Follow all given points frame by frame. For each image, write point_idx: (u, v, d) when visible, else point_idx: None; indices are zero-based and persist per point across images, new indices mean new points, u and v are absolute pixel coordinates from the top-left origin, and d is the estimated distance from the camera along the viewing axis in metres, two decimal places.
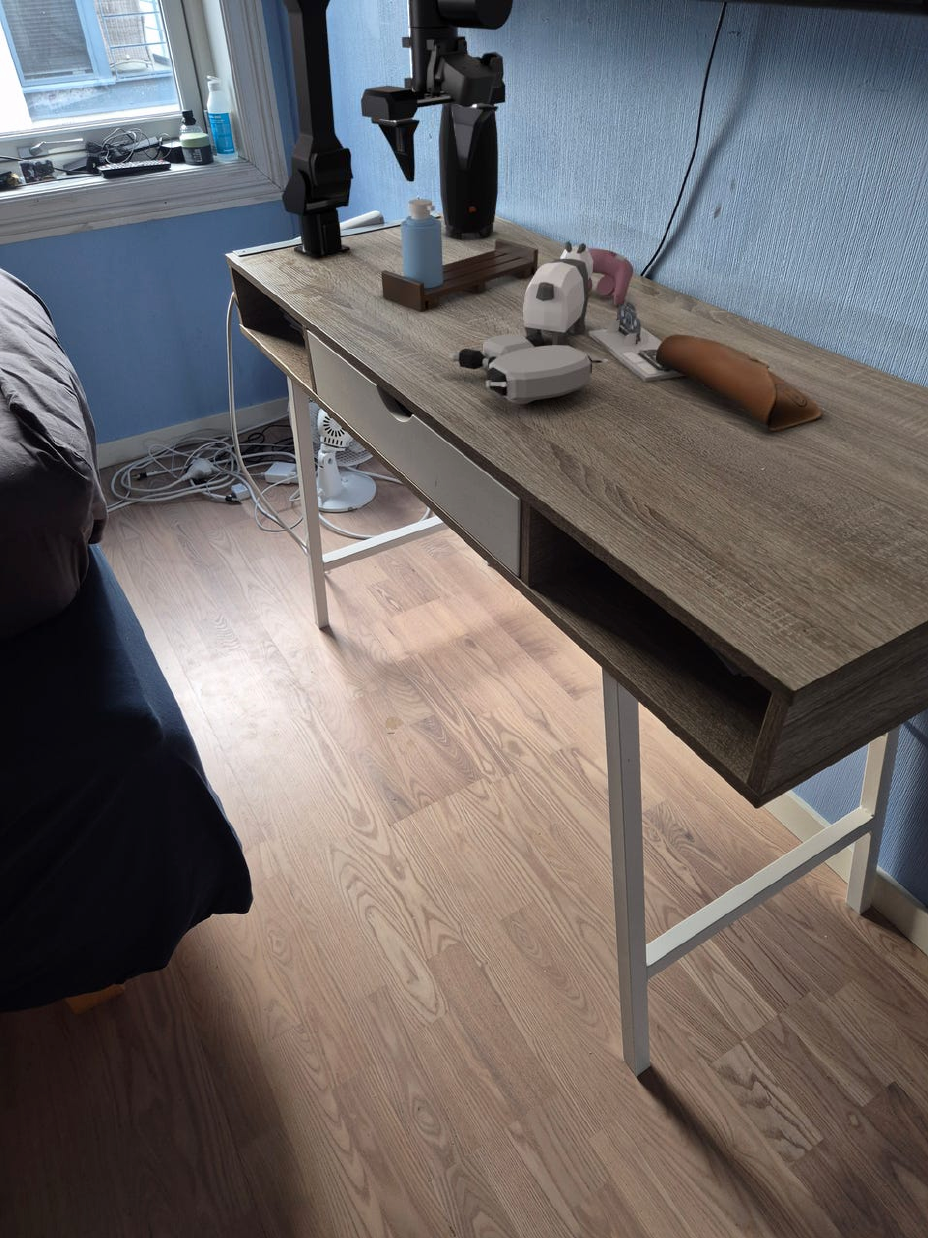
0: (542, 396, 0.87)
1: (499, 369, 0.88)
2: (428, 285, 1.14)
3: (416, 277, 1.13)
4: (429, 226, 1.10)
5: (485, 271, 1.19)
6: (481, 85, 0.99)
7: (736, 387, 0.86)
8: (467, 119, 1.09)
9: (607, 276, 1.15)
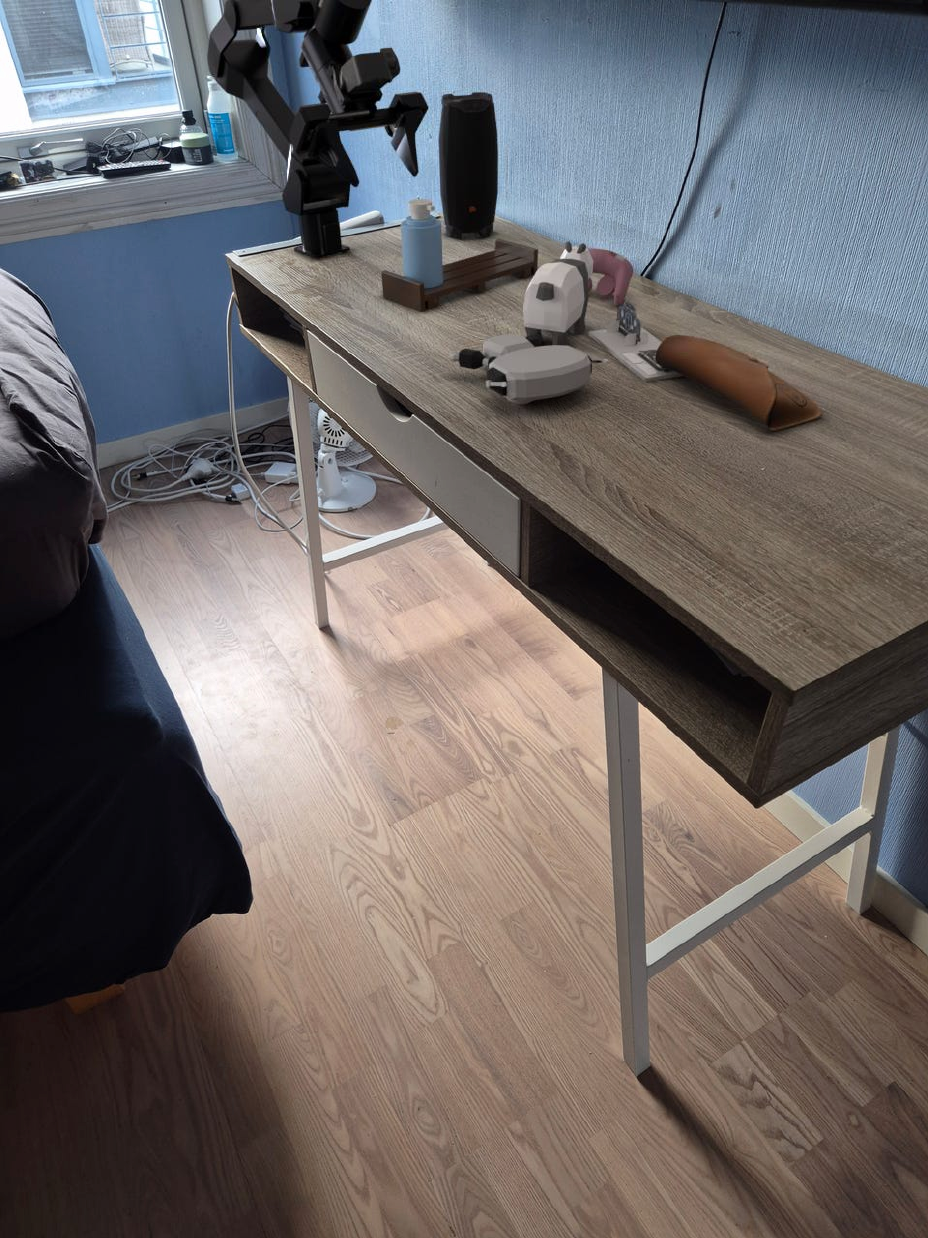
0: (542, 396, 0.87)
1: (499, 369, 0.88)
2: (428, 285, 1.14)
3: (416, 277, 1.13)
4: (429, 226, 1.10)
5: (485, 271, 1.19)
6: (372, 60, 1.07)
7: (735, 387, 0.86)
8: (401, 135, 1.16)
9: (607, 276, 1.15)
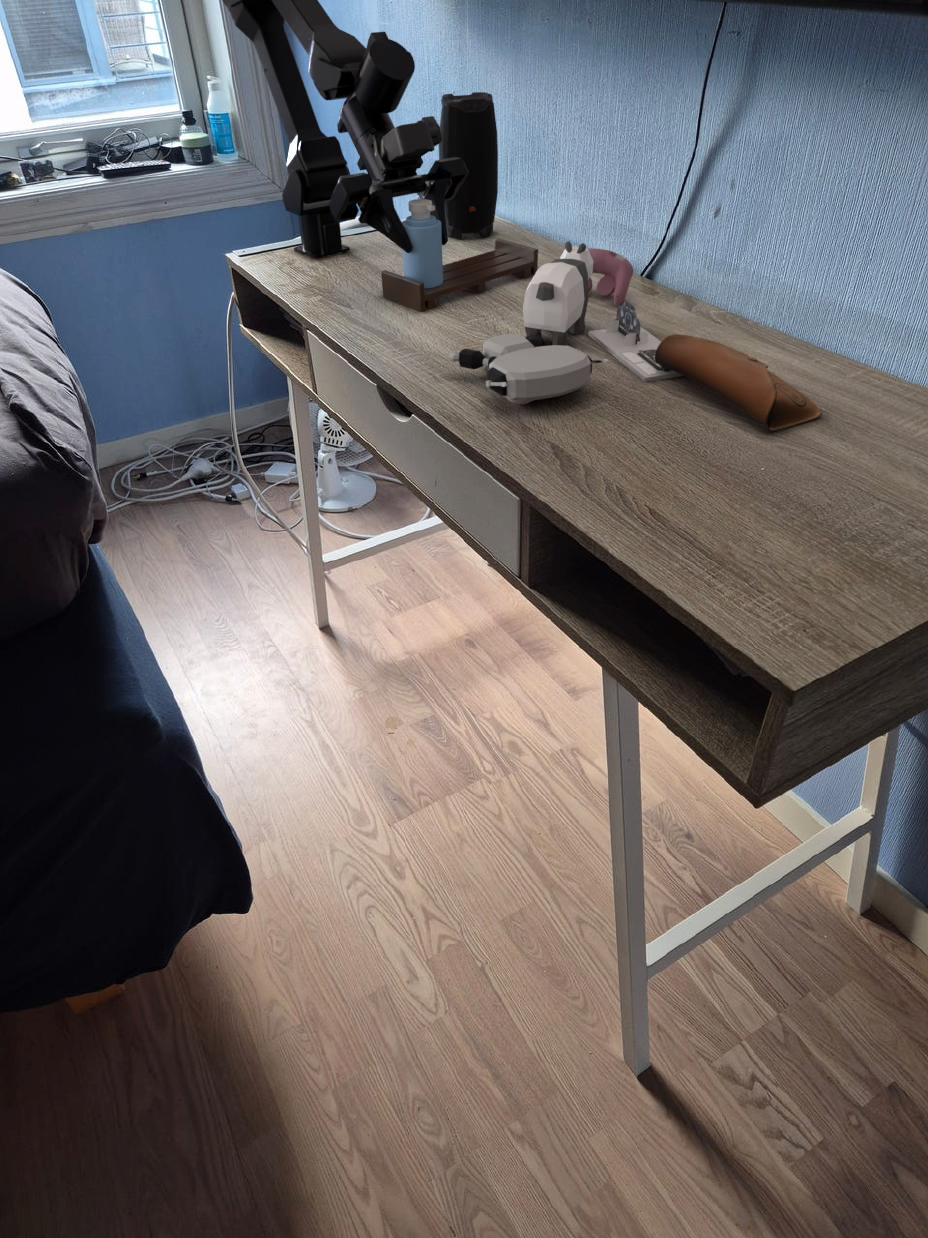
0: (542, 396, 0.87)
1: (499, 369, 0.88)
2: (428, 285, 1.14)
3: (416, 277, 1.13)
4: (429, 226, 1.10)
5: (485, 271, 1.19)
6: (415, 130, 1.05)
7: (735, 387, 0.86)
8: None
9: (607, 276, 1.15)
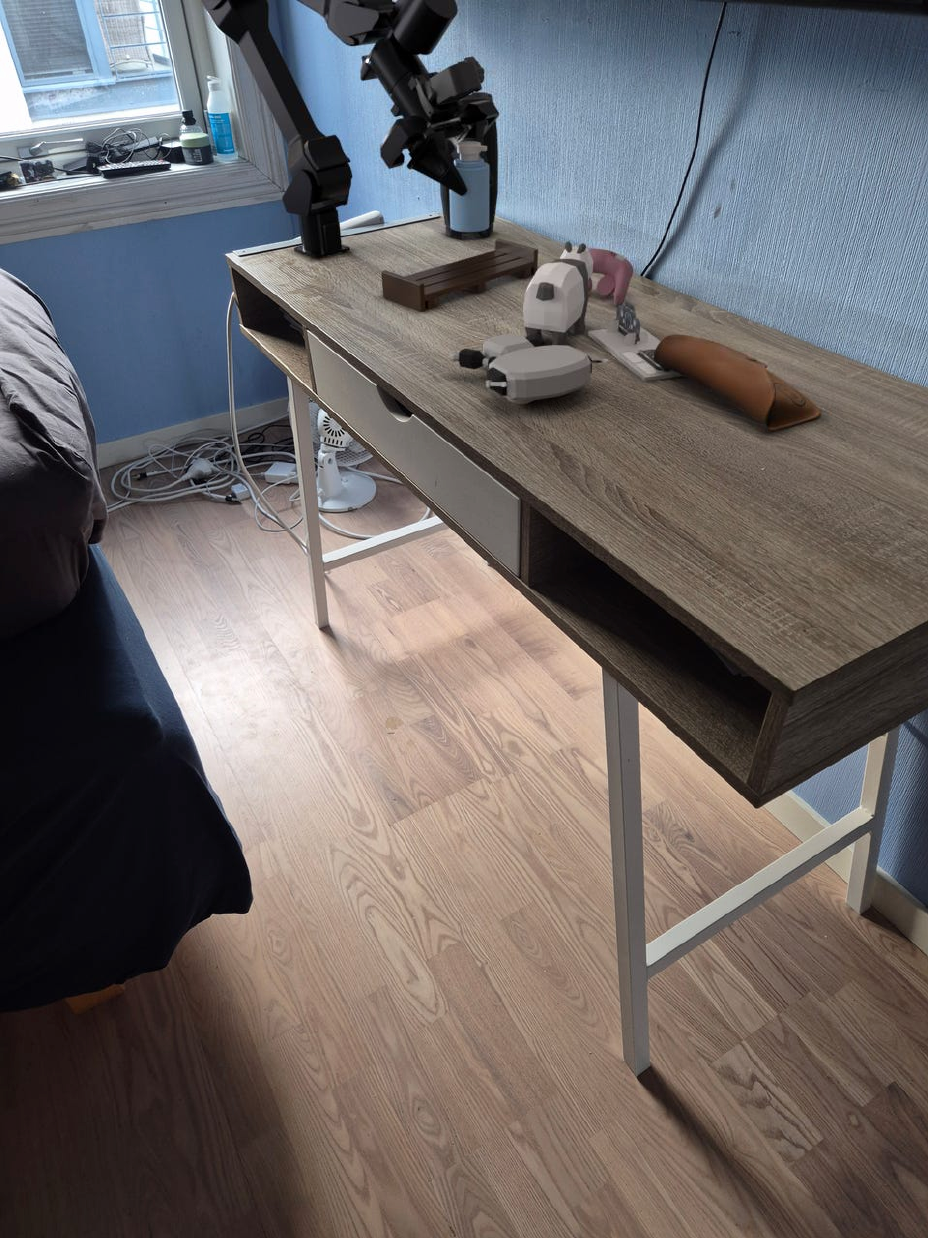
0: (542, 396, 0.87)
1: (499, 369, 0.88)
2: (480, 228, 1.15)
3: (468, 220, 1.14)
4: (481, 167, 1.11)
5: (485, 271, 1.19)
6: (466, 69, 1.05)
7: (734, 387, 0.86)
8: None
9: (607, 276, 1.15)
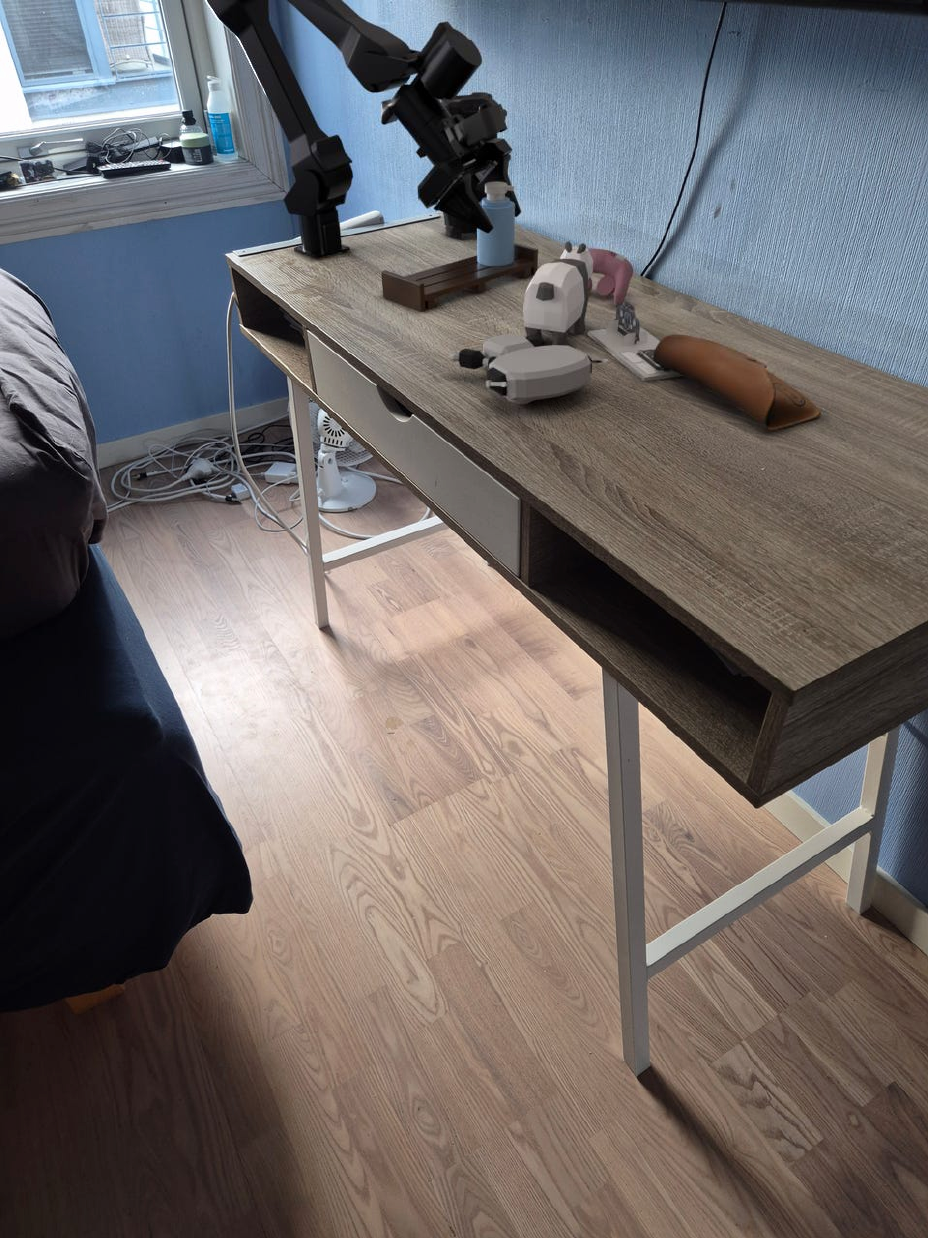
0: (542, 396, 0.87)
1: (499, 369, 0.88)
2: (508, 261, 1.22)
3: (499, 255, 1.20)
4: (509, 205, 1.18)
5: (485, 271, 1.19)
6: (495, 113, 1.12)
7: (734, 387, 0.86)
8: (495, 179, 1.22)
9: (607, 276, 1.15)
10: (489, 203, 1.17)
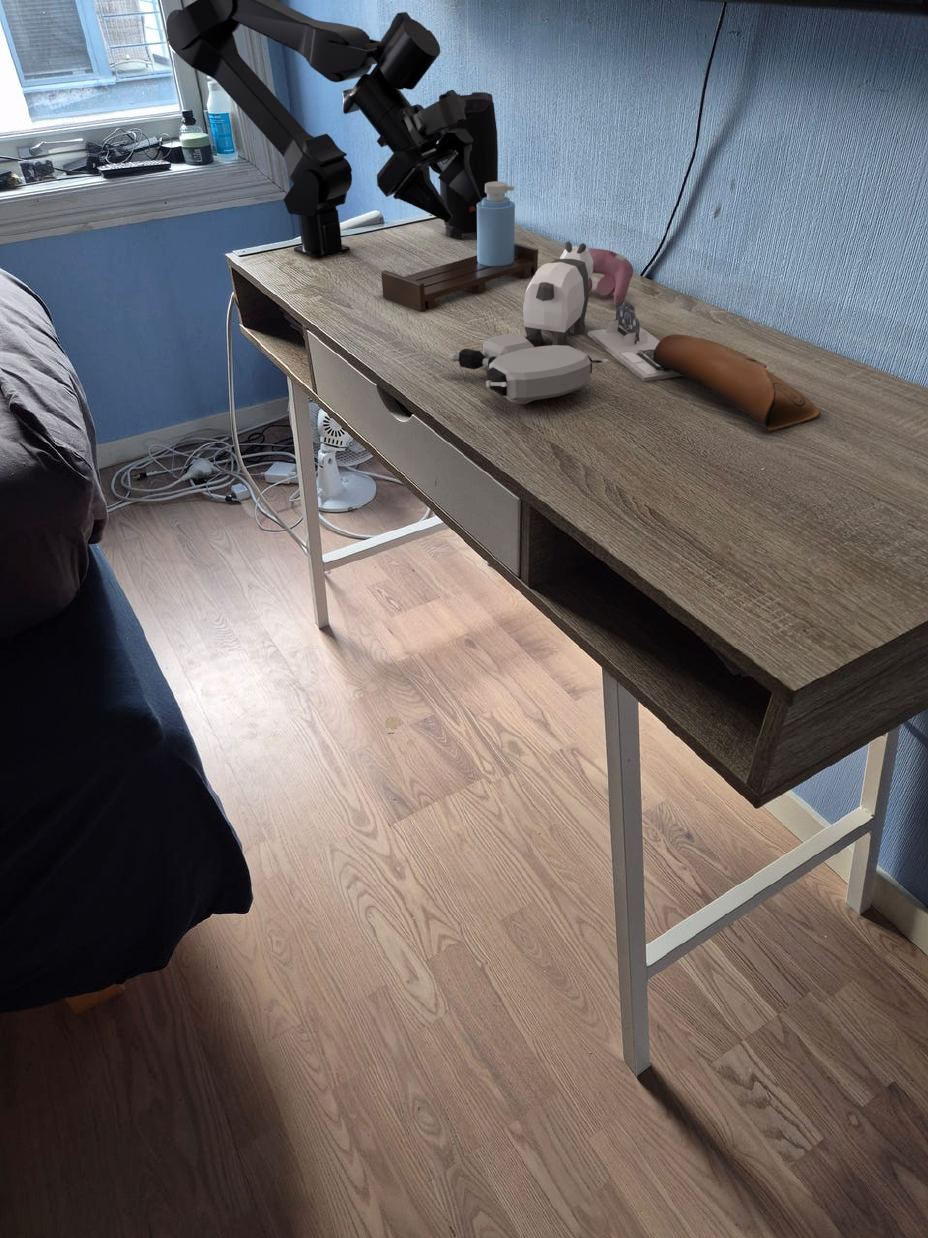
0: (542, 396, 0.87)
1: (499, 369, 0.88)
2: (508, 261, 1.22)
3: (499, 255, 1.20)
4: (509, 205, 1.18)
5: (485, 271, 1.19)
6: (453, 103, 1.14)
7: (734, 387, 0.86)
8: (456, 169, 1.24)
9: (607, 276, 1.15)
10: (489, 203, 1.17)
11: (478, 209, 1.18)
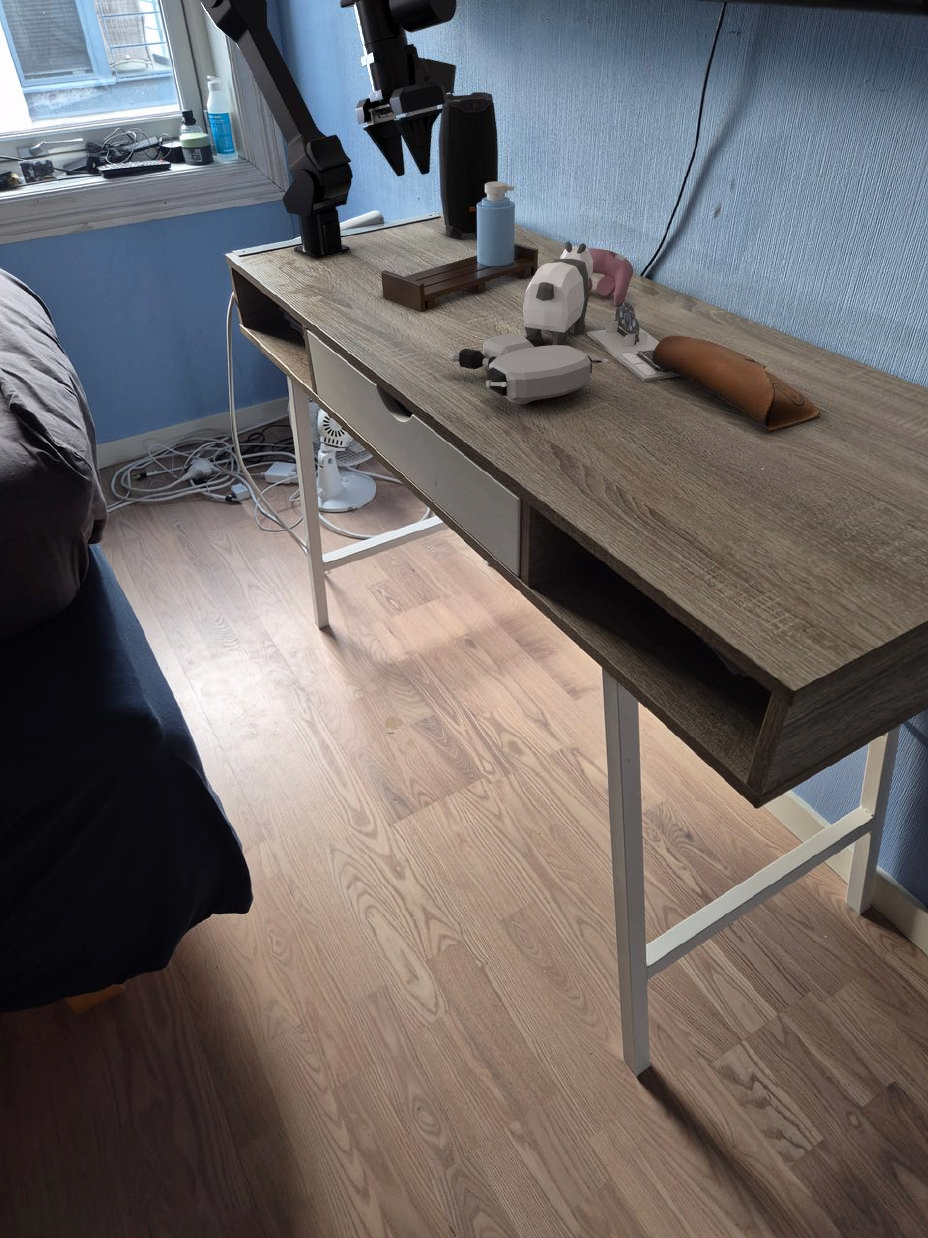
0: (542, 396, 0.87)
1: (499, 369, 0.88)
2: (508, 261, 1.22)
3: (499, 255, 1.20)
4: (509, 205, 1.18)
5: (485, 271, 1.19)
6: None
7: (733, 387, 0.86)
8: (392, 130, 1.21)
9: (607, 276, 1.15)
10: (489, 203, 1.17)
11: (478, 209, 1.18)
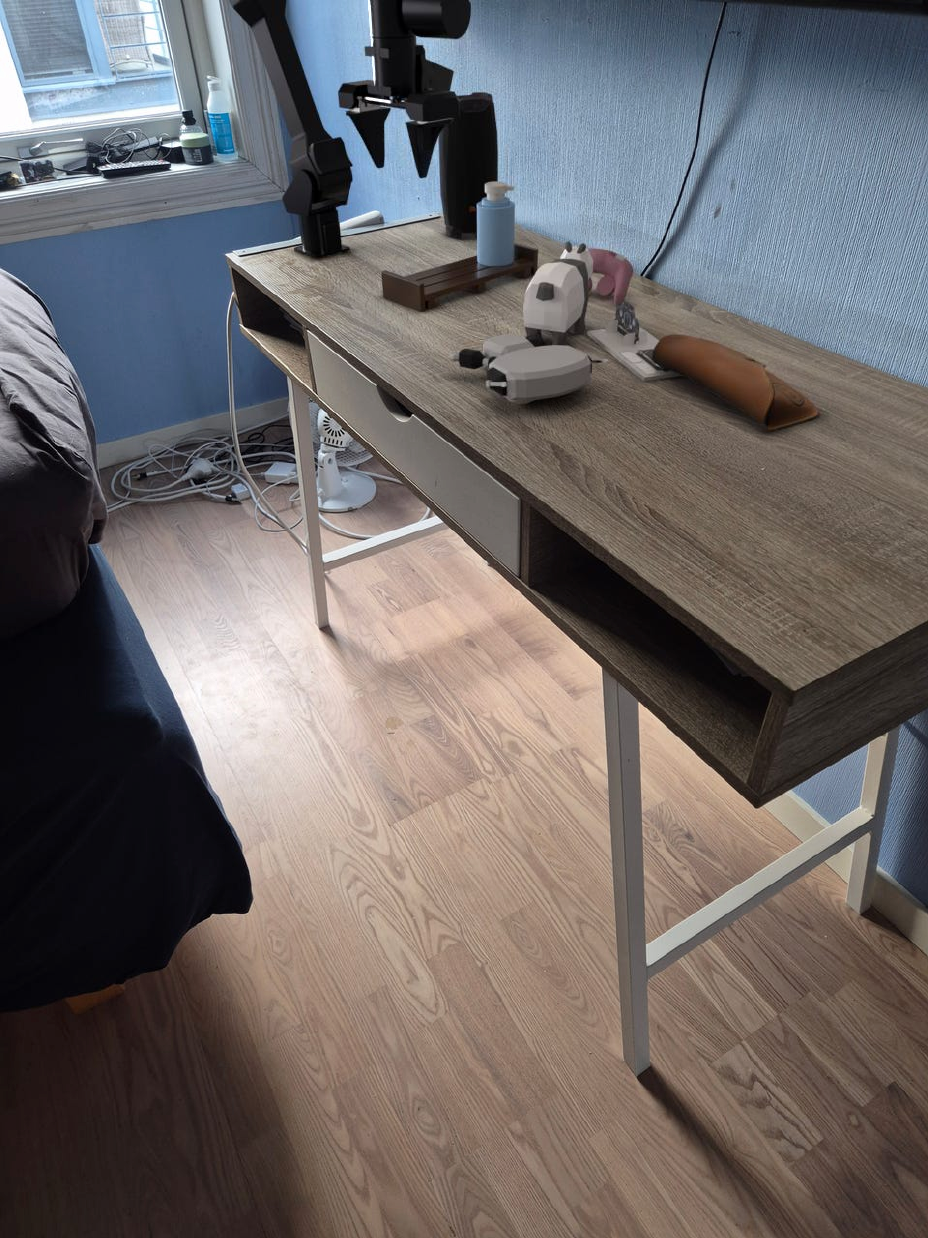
0: (542, 396, 0.87)
1: (499, 369, 0.88)
2: (508, 261, 1.22)
3: (499, 255, 1.20)
4: (509, 205, 1.18)
5: (485, 271, 1.19)
6: None
7: (733, 387, 0.86)
8: (376, 121, 1.19)
9: (607, 276, 1.15)
10: (489, 203, 1.17)
11: (478, 209, 1.18)
